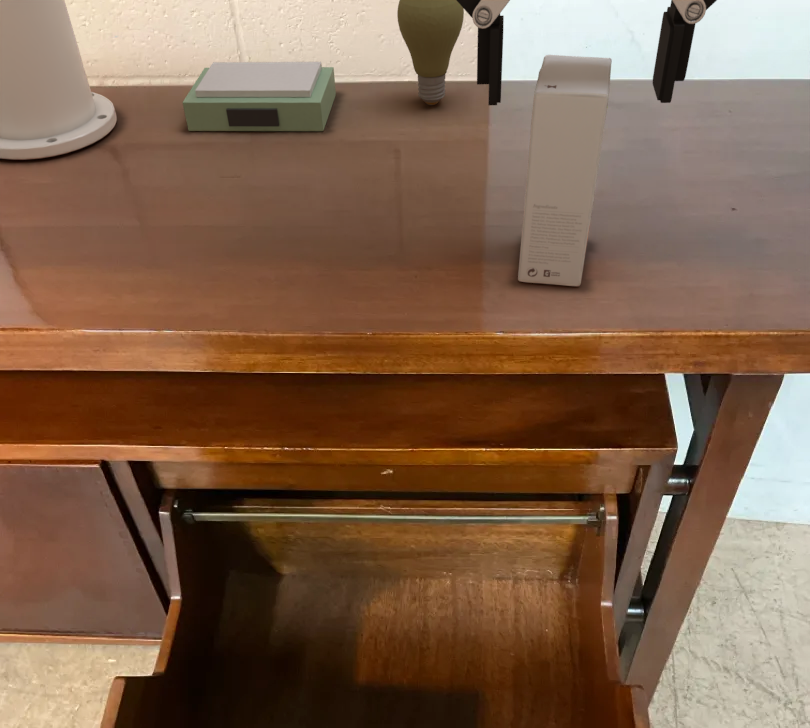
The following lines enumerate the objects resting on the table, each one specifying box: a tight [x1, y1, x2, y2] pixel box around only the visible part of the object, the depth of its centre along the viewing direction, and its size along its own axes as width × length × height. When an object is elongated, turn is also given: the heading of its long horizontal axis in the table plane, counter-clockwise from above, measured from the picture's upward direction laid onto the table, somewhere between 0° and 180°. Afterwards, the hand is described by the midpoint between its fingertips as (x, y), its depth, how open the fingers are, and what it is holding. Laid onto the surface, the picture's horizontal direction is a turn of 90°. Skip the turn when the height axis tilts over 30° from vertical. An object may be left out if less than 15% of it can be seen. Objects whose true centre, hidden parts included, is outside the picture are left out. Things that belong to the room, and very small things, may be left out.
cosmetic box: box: [517, 54, 612, 287], centre depth 53 cm, size 6×4×12 cm
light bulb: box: [396, 0, 465, 106], centre depth 72 cm, size 6×6×10 cm
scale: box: [181, 61, 337, 132], centre depth 75 cm, size 12×8×3 cm
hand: (577, 95), depth 49 cm, fingers open, 9 cm apart
